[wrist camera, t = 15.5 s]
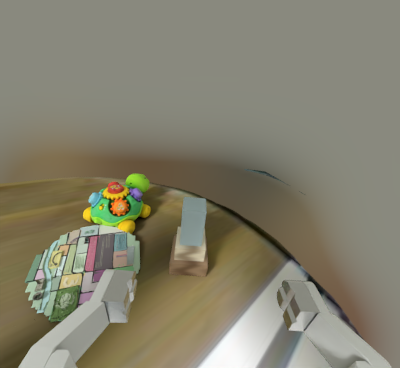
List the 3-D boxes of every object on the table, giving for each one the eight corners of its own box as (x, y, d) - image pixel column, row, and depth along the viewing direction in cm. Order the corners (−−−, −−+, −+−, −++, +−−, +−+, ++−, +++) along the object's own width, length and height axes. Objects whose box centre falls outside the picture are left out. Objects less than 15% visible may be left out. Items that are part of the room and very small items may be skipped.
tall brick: (179, 244, 43) (182, 210, 38) (181, 229, 48) (184, 196, 43) (201, 246, 44) (206, 212, 39) (201, 231, 48) (205, 198, 43)
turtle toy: (163, 202, 71) (164, 174, 65) (123, 245, 51) (119, 211, 46) (125, 191, 75) (123, 164, 69) (74, 227, 55) (65, 194, 50)
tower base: (169, 274, 45) (169, 251, 41) (173, 245, 53) (174, 223, 49) (206, 276, 46) (210, 253, 42) (204, 247, 54) (208, 226, 50)
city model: (24, 367, 31) (10, 355, 27) (16, 257, 44) (7, 241, 41) (160, 283, 46) (162, 269, 43) (123, 221, 59) (123, 207, 56)
